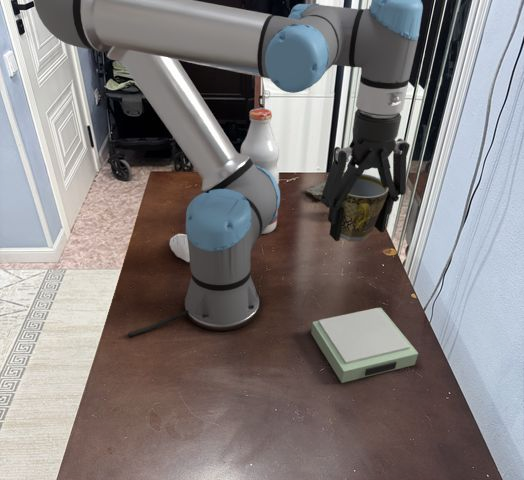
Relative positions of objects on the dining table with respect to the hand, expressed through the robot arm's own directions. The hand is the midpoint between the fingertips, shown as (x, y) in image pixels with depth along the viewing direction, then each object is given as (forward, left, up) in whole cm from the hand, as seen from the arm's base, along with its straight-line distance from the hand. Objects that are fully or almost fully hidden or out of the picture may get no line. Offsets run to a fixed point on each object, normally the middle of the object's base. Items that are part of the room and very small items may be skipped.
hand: (357, 233), depth 96 cm
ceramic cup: (-1, 0, -1) cm, 1 cm away
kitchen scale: (-4, -16, -15) cm, 23 cm away
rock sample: (+14, +45, -16) cm, 50 cm away
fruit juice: (-8, +34, -16) cm, 38 cm away
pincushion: (-29, +28, -16) cm, 44 cm away
